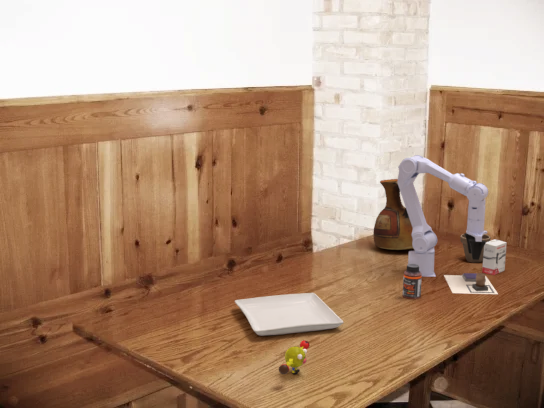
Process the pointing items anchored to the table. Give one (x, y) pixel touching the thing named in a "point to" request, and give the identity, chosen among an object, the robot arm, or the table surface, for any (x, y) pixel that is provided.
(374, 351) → the table surface
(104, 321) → the table surface
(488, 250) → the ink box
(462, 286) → the board
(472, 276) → the ink pad
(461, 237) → the flower pot
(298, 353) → the toy figure
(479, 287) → the stamp
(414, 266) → the supplement bottle
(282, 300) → the square plate
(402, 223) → the ceramic pitcher
